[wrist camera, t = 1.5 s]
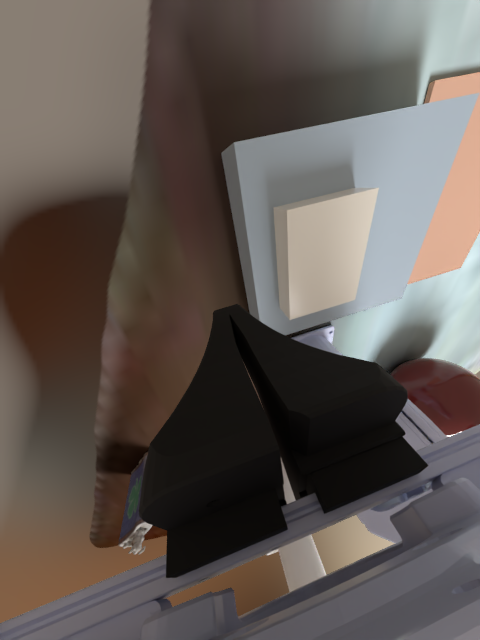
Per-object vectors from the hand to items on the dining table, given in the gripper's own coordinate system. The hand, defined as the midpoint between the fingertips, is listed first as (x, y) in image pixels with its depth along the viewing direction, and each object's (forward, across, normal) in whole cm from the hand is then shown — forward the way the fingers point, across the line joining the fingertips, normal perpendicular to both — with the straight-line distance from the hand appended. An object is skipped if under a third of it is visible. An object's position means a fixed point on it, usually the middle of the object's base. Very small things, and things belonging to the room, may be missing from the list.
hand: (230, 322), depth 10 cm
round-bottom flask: (+10, -31, +30) cm, 44 cm away
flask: (+10, +20, +31) cm, 38 cm away
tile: (+5, -8, 0) cm, 10 cm away
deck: (+9, -11, 0) cm, 14 cm away
